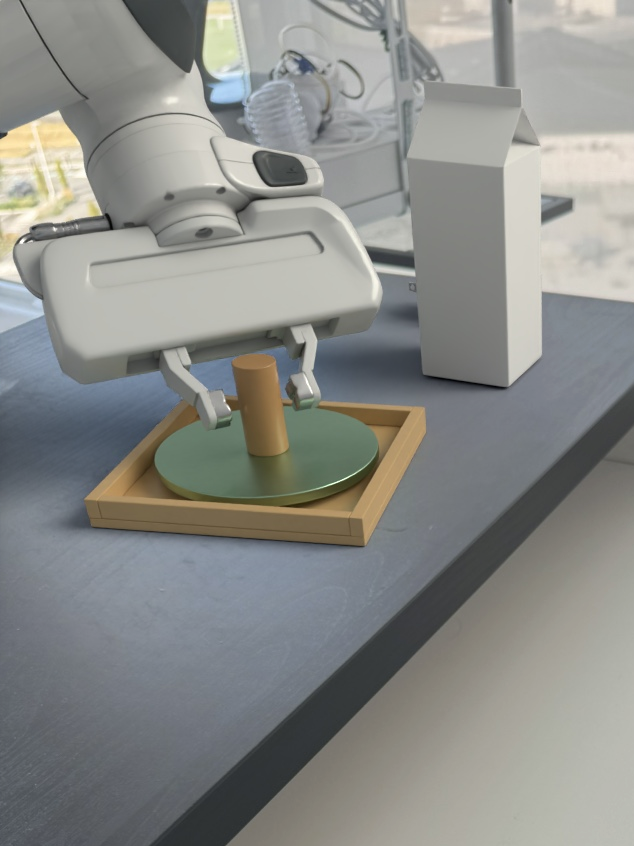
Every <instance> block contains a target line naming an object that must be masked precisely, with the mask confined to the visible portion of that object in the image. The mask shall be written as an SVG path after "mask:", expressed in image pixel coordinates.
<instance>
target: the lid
mask: <svg viewBox="0 0 634 846" xmlns="http://www.w3.org/2000/svg"><path fill="white" fill-rule="evenodd" d="M231 368H232V374H233V380H234V386H235V391H236V396H237V397H238V403H239V408H240V410H237V411H231V412H232V421H231V422H230V423H231V425H230V426H228V427H224V428H220V429H215V430H211V431H206V430H205V428H204V426H203V424H202V421H201V420H199V421H196V422H194V423H192V424H189V425H187V426H185V427H183V428H181V429H179V430H178V431H176V432H175V433H173V434H172V435H170V436H169V437H168V438H167V439H165V440H164V441H163V442H162V444H161V445H160V446H159V447H158V449H157V451H156V453H155V459H154V462H155V467H156V471H157V475H158V477H159V479H160V481H161V482H162V483H163V484H164V485H165V486H166V487H167V488H169V489H170V490H171V491H173V492H174V493H176V494H178V495H180V496H182V497H185V498H188V499H191V500H194V501H201V502H216V503H230V504H245V505H259V506H274V507H275V506H284V505H291V504H297V503H302V502H307V501H311V500H315V499H319V498H323V497H326V496H329V495H332V494H335V493H337V492H339V491H342V490H344V489H346V488H348V487H350V486H352V485H354V484H356V483H357V482H359V481H360V480H362V479H363V478H365V477H366V476H367V475H368V474H369V473H370V472H371V471H372V470H373V468H374V467H375V466H376V464H377V461H378V459H379V444H378V439H377V437H376V435H375V433H374V432H373V431H372V430H371V429H370V428H369V427H368V426H367V425H365V424H364V423H362V422H361V421H359V420H357V419H355V418H352V417H350V416H347V415H344V414H341V413H338V412H334V411H329V410H324V409H318V408H312V409H305V410H300V411H295V410H294V409H293V407H292V406H283V404H282V399H283V397H282V391H281V386H280V385H281V384H280V379H279V378H280V377H279V371H278V366H277V360H276V358H275V357H274V356H273V355H270V354H266V353H249V354H244V355H239V356H236V357H234V358H233V359H232V361H231Z"/></svg>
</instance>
